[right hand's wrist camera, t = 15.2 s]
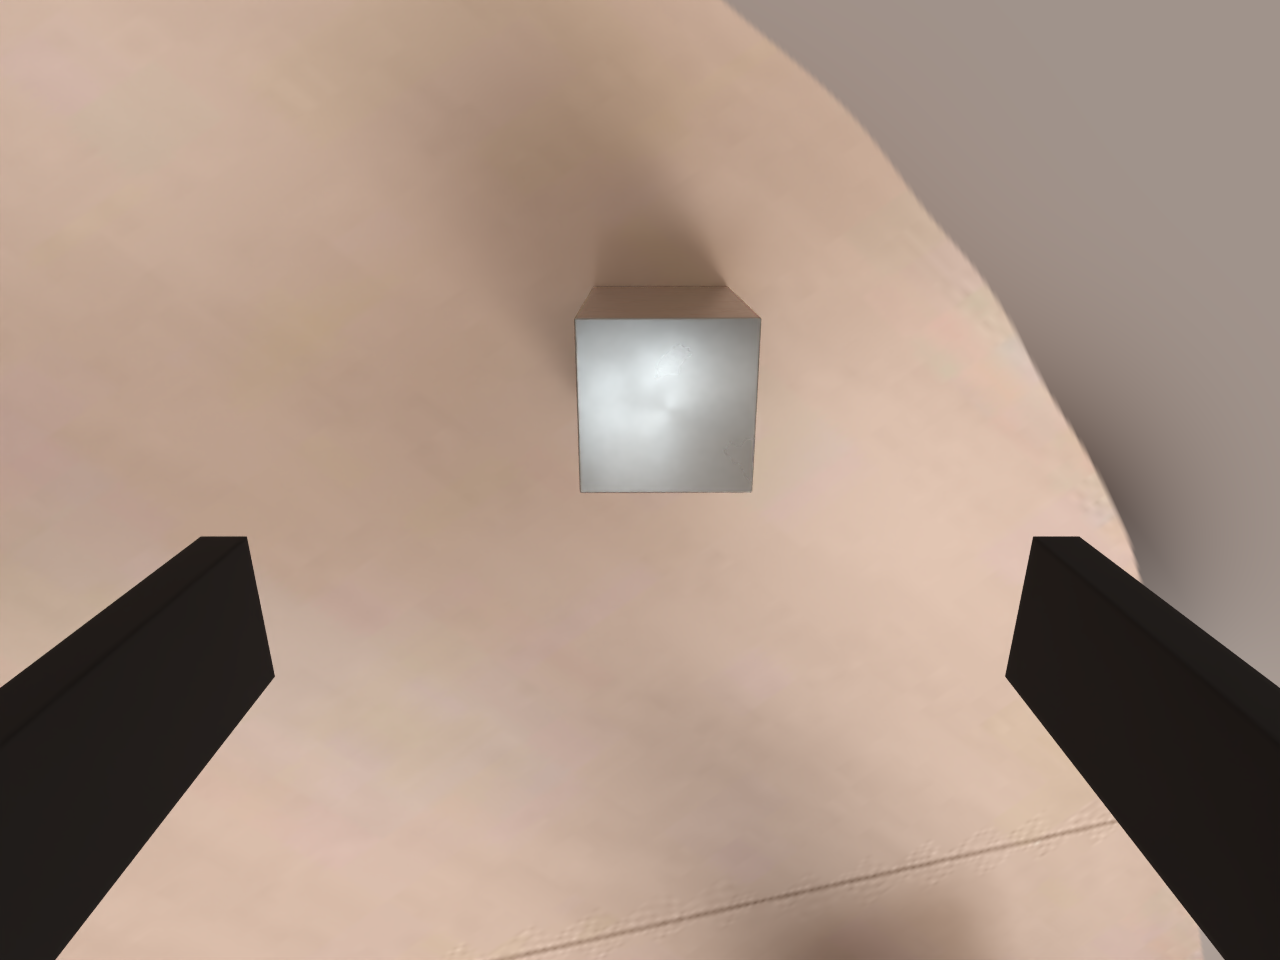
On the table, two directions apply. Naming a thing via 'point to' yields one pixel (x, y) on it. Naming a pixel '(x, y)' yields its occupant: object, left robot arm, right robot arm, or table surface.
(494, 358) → the table surface
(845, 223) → the table surface
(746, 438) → the block
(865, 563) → the table surface
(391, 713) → the table surface
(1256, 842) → the right robot arm
